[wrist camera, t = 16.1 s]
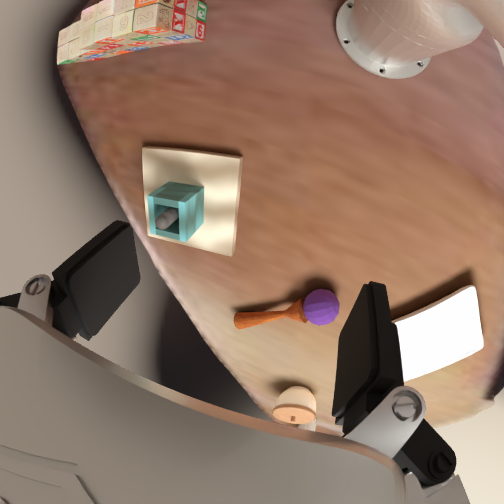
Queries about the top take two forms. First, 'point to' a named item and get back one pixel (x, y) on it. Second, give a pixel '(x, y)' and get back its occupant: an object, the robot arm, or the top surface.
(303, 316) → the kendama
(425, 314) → the salad plate
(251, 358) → the top surface
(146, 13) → the stack of blocks
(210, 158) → the cream peg stand
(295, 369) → the top surface
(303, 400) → the lidded jar
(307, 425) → the photo printer
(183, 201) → the open box
